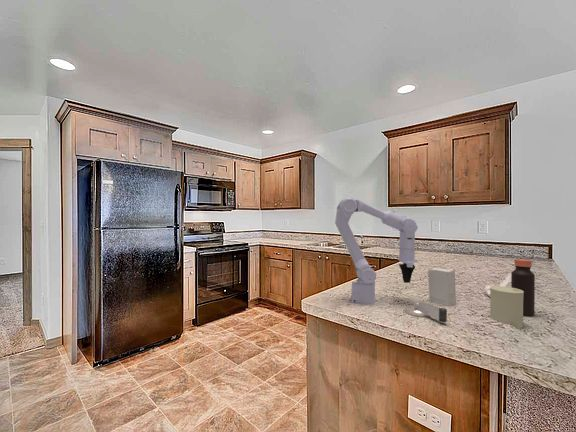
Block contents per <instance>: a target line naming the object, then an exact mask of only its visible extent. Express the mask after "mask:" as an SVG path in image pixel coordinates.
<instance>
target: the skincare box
mask: <svg viewBox="0 0 576 432" xmlns="http://www.w3.org/2000/svg"><path fill="white" fill-rule="evenodd" d="M455 271H456V270H455V269H450V268H449V269H448V268H439V267H432V268H428V271H427V272H428V294H429V295H428V296H429V297H428V298H429V300H428V301H429V302H430V303H434V304H437V305H442V306H445V307H451V306H455V305H457V294H456V291H457V290H456V272H455Z"/></svg>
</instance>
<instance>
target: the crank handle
mask: <svg viewBox="0 0 576 432" xmlns="http://www.w3.org/2000/svg"><path fill="white" fill-rule="evenodd" d="M403 310H404V311H403V312H405V314H408V315H410V316H413V317H418V318H419V317H420V318H429V317H431V318H434V319H436V320H437V321H439V322H442V323H446V322H448V316H447V315H448V313H447V312H448V310H447V308H444V307H438V306H437V305H434V304H431V303H428V302H425V301H422V300H420V301H419V300H418V301H414V303H413V305H411V304H410V305H405V306H404V309H403Z"/></svg>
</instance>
